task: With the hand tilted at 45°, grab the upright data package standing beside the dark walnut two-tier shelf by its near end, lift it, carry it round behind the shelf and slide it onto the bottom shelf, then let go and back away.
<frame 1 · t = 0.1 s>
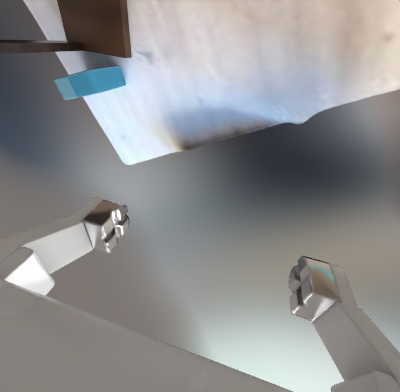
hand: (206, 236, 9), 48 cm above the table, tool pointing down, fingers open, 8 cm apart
data package: (107, 79, 55), on the table
shelf: (95, 4, 46), on the table
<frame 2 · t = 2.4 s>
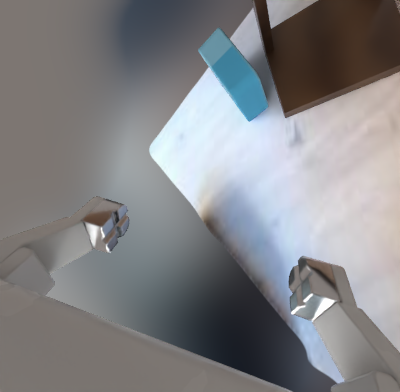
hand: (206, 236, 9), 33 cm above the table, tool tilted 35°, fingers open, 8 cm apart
data package: (244, 95, 42), on the table
shelf: (325, 54, 35), on the table
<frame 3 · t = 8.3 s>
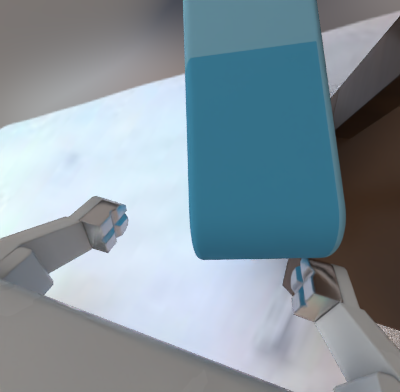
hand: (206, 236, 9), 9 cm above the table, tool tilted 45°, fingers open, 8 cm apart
data package: (234, 171, 18), on the table, touching gripper
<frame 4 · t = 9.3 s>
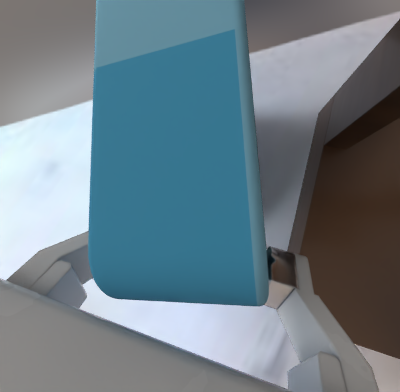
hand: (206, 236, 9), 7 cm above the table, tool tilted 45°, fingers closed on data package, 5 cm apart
data package: (224, 177, 17), on the table, touching gripper
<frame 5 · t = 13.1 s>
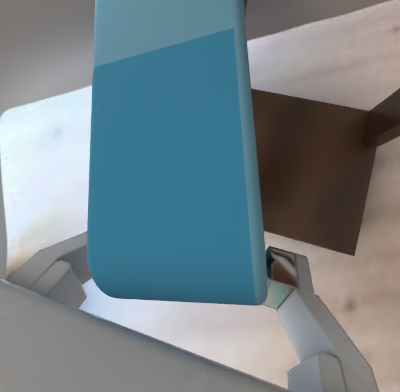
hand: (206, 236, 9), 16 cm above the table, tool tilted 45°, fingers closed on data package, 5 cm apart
data package: (224, 177, 17), point 9 cm above the table, touching gripper
shelf: (278, 168, 25), on the table
when the fingers open (10 cm above the table, at t = 17.0 s): data package stays where it is, resting on shelf.
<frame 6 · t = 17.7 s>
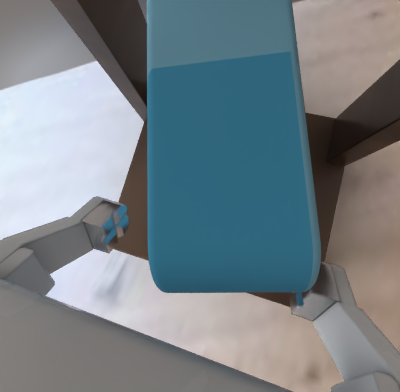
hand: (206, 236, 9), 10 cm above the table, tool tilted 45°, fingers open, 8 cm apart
data package: (222, 179, 18), point 2 cm above the table, touching shelf
shelf: (225, 190, 20), on the table
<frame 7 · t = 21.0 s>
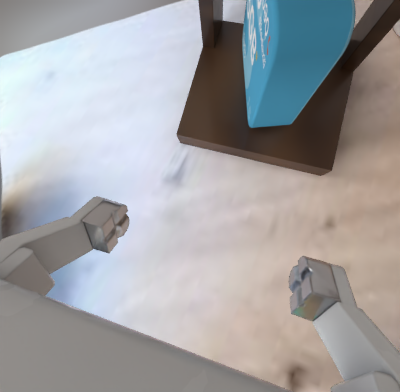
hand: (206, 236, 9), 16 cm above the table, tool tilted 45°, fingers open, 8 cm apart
data package: (263, 84, 24), point 2 cm above the table, touching shelf
shelf: (262, 101, 26), on the table
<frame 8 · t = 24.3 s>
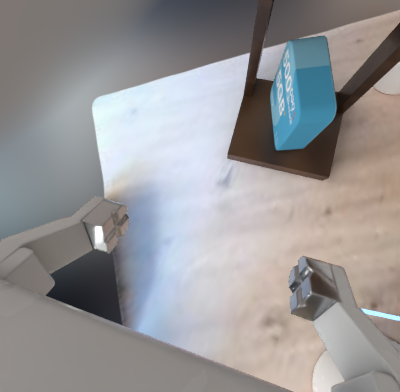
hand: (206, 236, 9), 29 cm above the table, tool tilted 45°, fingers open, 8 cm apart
data package: (284, 121, 37), point 2 cm above the table, touching shelf
shelf: (282, 130, 39), on the table
alcohol: (390, 76, 38), on the table
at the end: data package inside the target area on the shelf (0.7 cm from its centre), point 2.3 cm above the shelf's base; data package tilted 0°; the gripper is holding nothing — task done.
